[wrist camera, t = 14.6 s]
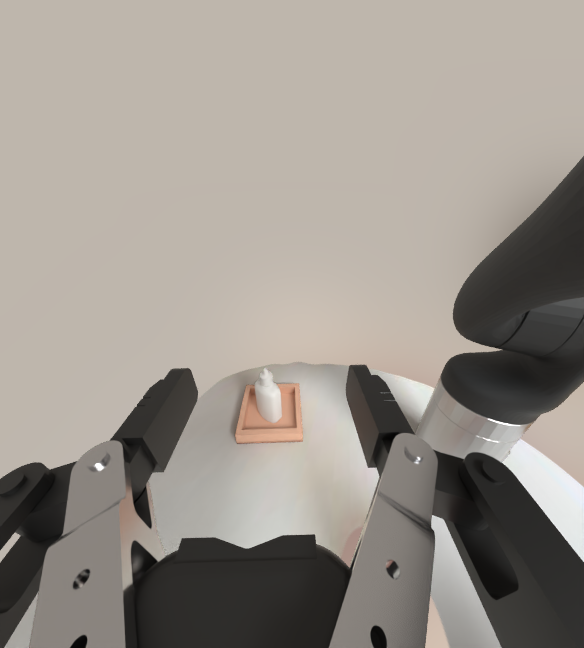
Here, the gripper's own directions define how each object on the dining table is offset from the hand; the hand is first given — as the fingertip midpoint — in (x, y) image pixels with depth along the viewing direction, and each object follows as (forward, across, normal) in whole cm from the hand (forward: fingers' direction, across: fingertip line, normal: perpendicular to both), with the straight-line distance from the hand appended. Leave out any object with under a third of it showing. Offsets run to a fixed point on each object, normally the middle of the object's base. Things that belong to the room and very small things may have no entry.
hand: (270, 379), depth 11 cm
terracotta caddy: (+21, +3, +30) cm, 37 cm away
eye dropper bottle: (+20, +4, +30) cm, 36 cm away
